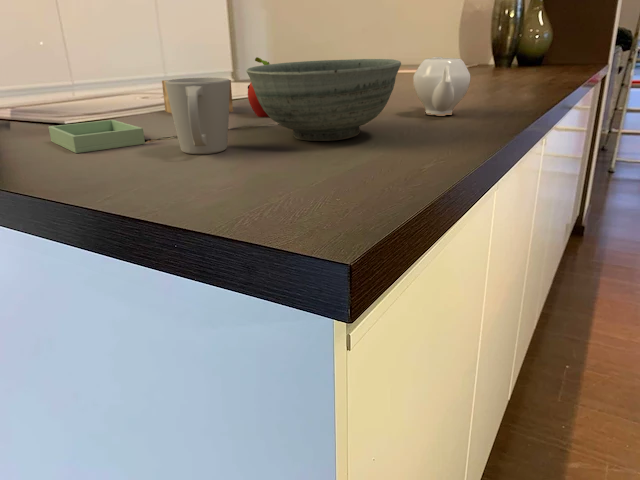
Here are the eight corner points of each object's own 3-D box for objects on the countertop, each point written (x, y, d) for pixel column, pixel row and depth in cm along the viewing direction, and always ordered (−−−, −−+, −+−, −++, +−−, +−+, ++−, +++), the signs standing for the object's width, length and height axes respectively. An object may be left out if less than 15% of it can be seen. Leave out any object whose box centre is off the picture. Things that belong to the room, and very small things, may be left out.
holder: (165, 114, 99) (161, 80, 97) (209, 110, 104) (206, 77, 102) (188, 119, 92) (184, 83, 90) (233, 114, 98) (230, 79, 96)
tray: (51, 141, 75) (48, 126, 74) (115, 133, 80) (113, 119, 80) (76, 153, 67) (73, 136, 66) (145, 143, 72) (143, 128, 72)
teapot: (415, 123, 85) (418, 61, 82) (408, 107, 104) (411, 56, 101) (476, 123, 84) (482, 61, 81) (459, 107, 103) (463, 56, 100)
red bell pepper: (296, 118, 93) (294, 56, 89) (267, 123, 88) (264, 58, 84) (265, 114, 97) (262, 56, 94) (237, 119, 93) (232, 57, 89)
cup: (236, 143, 71) (232, 76, 68) (230, 159, 62) (225, 83, 59) (178, 145, 71) (171, 78, 68) (164, 161, 62) (154, 84, 59)
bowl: (429, 140, 72) (434, 61, 68) (288, 157, 63) (285, 68, 59) (349, 120, 89) (349, 57, 85) (229, 132, 80) (223, 61, 76)
